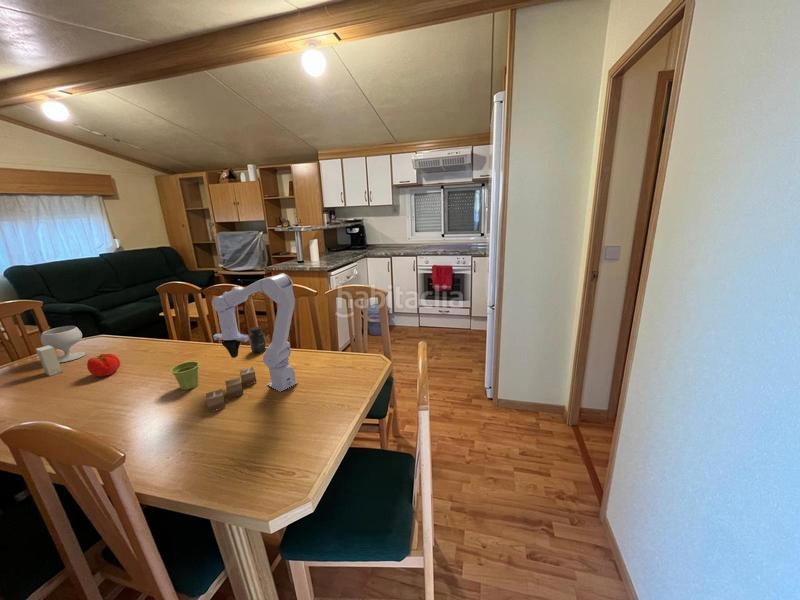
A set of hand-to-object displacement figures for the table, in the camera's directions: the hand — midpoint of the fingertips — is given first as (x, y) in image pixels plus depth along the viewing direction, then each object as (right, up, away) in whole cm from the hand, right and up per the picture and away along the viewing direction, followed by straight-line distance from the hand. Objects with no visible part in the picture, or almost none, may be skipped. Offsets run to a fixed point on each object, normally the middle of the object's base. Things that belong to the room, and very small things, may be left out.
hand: (234, 356), depth 128 cm
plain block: (+4, -13, -7) cm, 15 cm away
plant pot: (-18, -12, -1) cm, 21 cm away
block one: (+1, -15, -15) cm, 21 cm away
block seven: (+5, -10, +1) cm, 12 cm away
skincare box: (-90, -10, +16) cm, 92 cm away
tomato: (-63, -10, +13) cm, 65 cm away
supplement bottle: (-3, -3, +30) cm, 30 cm away
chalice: (-98, -6, +30) cm, 103 cm away
